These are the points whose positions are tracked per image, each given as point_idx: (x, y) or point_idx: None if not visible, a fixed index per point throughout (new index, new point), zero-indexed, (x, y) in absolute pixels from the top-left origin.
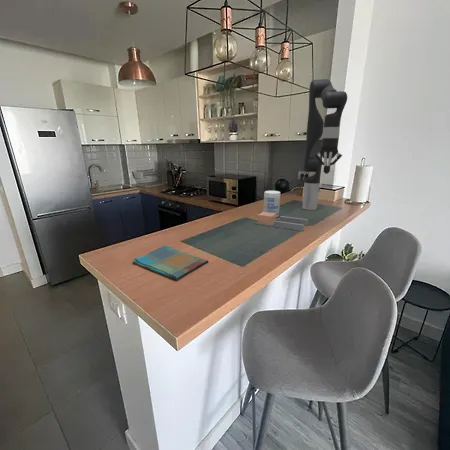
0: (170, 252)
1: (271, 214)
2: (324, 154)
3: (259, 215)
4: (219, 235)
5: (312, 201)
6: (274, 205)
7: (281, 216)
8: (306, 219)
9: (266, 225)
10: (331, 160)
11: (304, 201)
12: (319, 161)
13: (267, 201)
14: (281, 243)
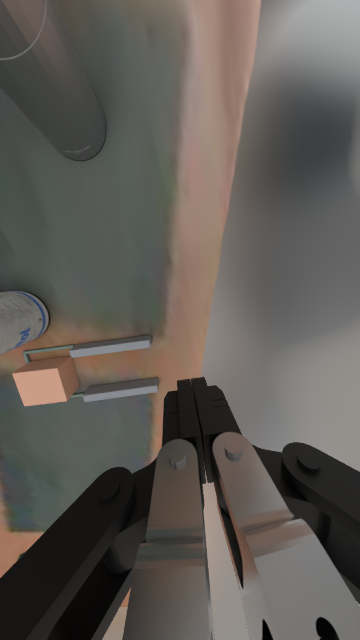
0: None
1: (53, 384)
2: None
3: (30, 404)
4: (37, 485)
5: (77, 127)
6: (14, 346)
7: (74, 354)
8: (145, 343)
9: (72, 396)
10: (306, 547)
11: (40, 129)
12: (73, 612)
13: None
14: (151, 456)
